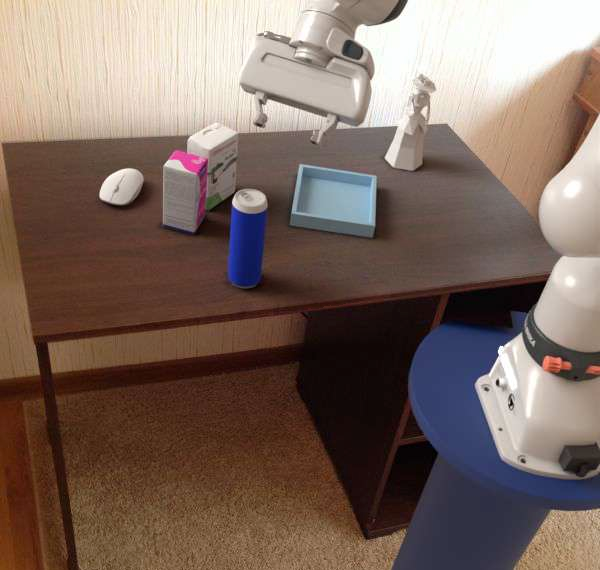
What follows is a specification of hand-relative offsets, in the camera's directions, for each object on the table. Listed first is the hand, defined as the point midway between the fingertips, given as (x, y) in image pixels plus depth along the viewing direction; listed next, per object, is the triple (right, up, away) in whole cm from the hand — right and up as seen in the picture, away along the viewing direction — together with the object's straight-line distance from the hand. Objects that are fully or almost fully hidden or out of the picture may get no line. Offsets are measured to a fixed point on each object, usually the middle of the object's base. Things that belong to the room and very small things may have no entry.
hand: (286, 135), depth 113 cm
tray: (+8, -4, +24) cm, 25 cm away
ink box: (-14, -4, +21) cm, 26 cm away
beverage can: (-7, -21, +7) cm, 23 cm away
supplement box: (-18, -10, +15) cm, 25 cm away
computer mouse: (-29, -4, +19) cm, 35 cm away
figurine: (+23, +8, +38) cm, 45 cm away
